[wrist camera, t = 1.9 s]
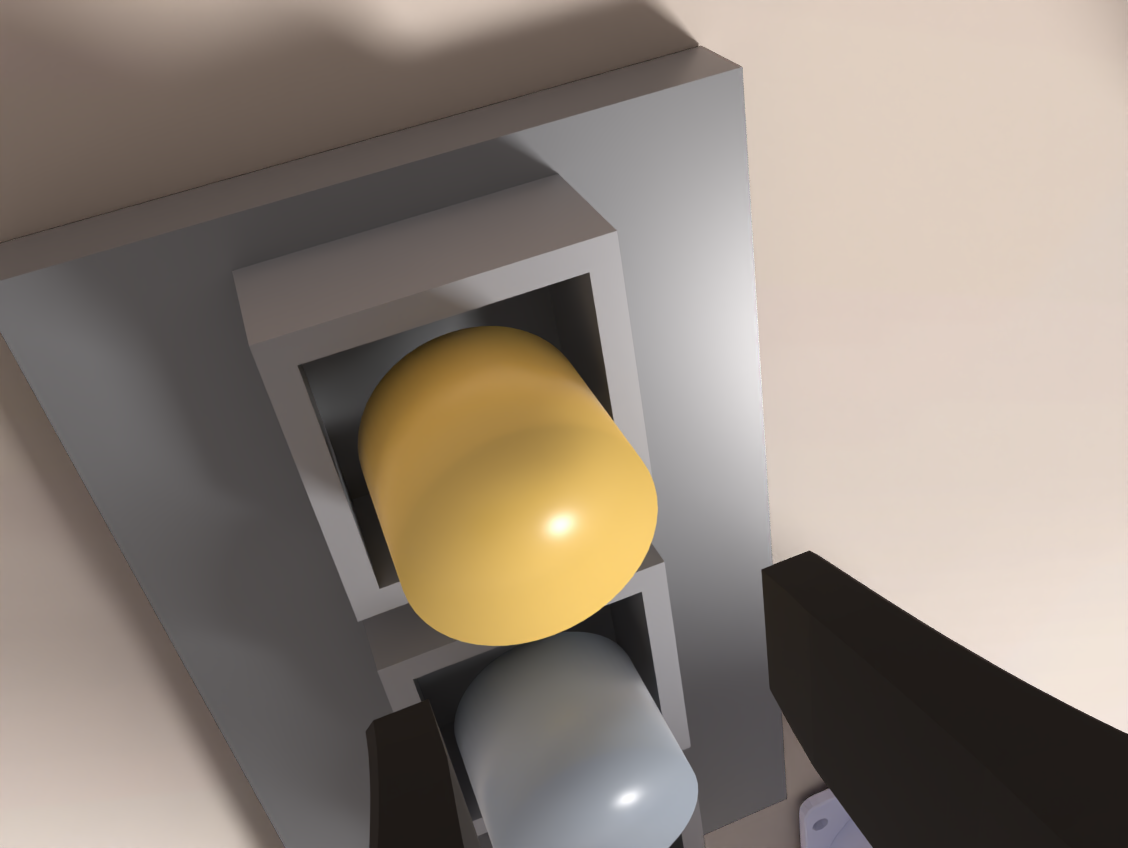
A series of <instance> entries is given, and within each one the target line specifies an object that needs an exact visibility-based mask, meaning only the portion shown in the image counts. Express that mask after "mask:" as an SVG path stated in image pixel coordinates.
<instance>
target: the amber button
mask: <svg viewBox="0 0 1128 848" xmlns="http://www.w3.org/2000/svg"><path fill="white" fill-rule="evenodd" d="M358 455H359V461H360V465H361V469H362V472H363V475H364V478H365V481H366V484H367V487H368V490H369V493H370V496H371V499H372V502H373V504H374V507H375V510H376V513H377V516H378V519H379V522H380V525H381V528H382V531H383V534H384V537H385V540H386V543H387V545H388V548H389V551H390V554H391V557H392V560H393V563H394V566H395V569H396V572H397V575H398V578H399V581H400V584H401V586H402V589H403V592H404V594H405V596H406V598H407V600H408V602H409V604H410V605H411V607H412V608H413V610H414V611H415V613H416V614H417V615H418V616H419V617H420V618H421V619H422V620H423V621H424V622H425V623H427V624H428V625H429V626H431V627H432V628H434V629H435V630H436V631H438V632H440V633H442V634H444V635H446V636H448V637H450V638H453V639H456V640H459V641H462V642H467V643H471V644H476V645H487V646H508V645H515V644H523V643H528V642H532V641H536V640H540V639H543V638H546V637H549V636H552V635H555V634H557V633H560V632H562V631H564V630H567V629H569V628H571V627H573V626H575V625H576V624H578V623H580V622H582V621H584V620H585V619H587V618H588V617H590V616H591V615H593V614H594V613H596V612H597V611H599V610H600V609H601V608H602V607H603V606H605V605H606V604H607V603H608V602H610V601H611V600H612V599H613V598H614V597H615V596H616V595H617V594H618V593H619V592H620V591H621V590H622V589H623V588H624V587H625V585H626V584H627V583H628V582H629V581H630V579H631V578H632V577H633V576H634V574H635V573H636V571H637V570H638V568H639V567H640V565H641V564H642V562H643V560H644V558H645V556H646V554H647V552H648V550H649V547H650V545H651V542H652V539H653V536H654V532H655V528H656V524H657V513H658V504H657V494H656V489H655V485H654V482H653V479H652V477H651V475H650V472H649V470H648V469H647V467H646V466H645V464H644V462H643V461H642V459H641V458H640V457H639V455H638V454H637V453H636V451H635V450H634V448H633V447H632V446H631V444H630V443H629V442H628V440H627V439H626V438H625V436H624V435H623V434H622V432H621V431H620V429H619V428H618V427H617V425H616V424H615V423H614V421H613V420H612V419H611V417H610V416H609V414H608V413H607V412H606V410H605V409H604V408H603V406H602V405H601V404H600V402H599V401H598V400H597V398H596V397H595V395H594V394H593V393H592V391H591V390H590V389H589V387H588V386H587V385H586V383H585V382H584V380H583V379H582V378H581V376H580V375H579V374H578V372H577V371H576V370H575V368H574V367H573V366H572V364H571V363H570V361H569V360H568V359H567V358H566V357H565V356H564V355H563V354H562V352H561V351H559V350H558V349H557V348H556V347H554V346H553V345H552V344H551V343H549V342H547V341H546V340H544V339H542V338H541V337H539V336H536V335H534V334H531V333H529V332H526V331H523V330H519V329H515V328H510V327H501V326H479V327H471V328H465V329H461V330H457V331H453V332H449V333H447V334H444V335H442V336H439V337H436V338H434V339H432V340H430V341H428V342H426V343H424V344H422V345H420V346H419V347H417V348H416V349H414V350H413V351H411V352H410V353H408V354H407V355H406V356H404V357H403V358H402V359H401V360H400V361H399V362H397V363H396V364H395V365H394V366H393V367H392V368H391V369H390V370H389V371H388V372H387V374H386V375H385V376H384V377H383V378H382V379H381V381H380V382H379V384H378V385H377V386H376V388H375V389H374V391H373V393H372V394H371V396H370V398H369V400H368V402H367V404H366V406H365V409H364V412H363V415H362V417H361V422H360V426H359V431H358Z"/></svg>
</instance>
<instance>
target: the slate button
mask: <svg viewBox="0 0 1128 848" xmlns="http://www.w3.org/2000/svg"><path fill="white" fill-rule="evenodd" d="M454 733H455V737H456V741H457V744H458V747H459V750H460V753H461V756H462V759H463V762H464V765H465V768H466V771H467V773H468V776H469V779H470V782H471V785H472V788H473V791H474V794H475V797H476V800H477V803H478V805H479V808H480V811H481V814H482V817H483V820H484V823H485V826H486V829H487V832H488V835H489V837H490V840H491V843H492V846H493V848H669V847H670V846H671V845H672V843H673V842H674V841H675V840H676V839H677V838H678V837H679V835H680V834H681V833H682V831H683V830H684V829H685V827H686V825H687V824H688V822H689V820H690V818H691V816H692V814H693V812H694V809H695V806H696V803H697V797H698V783H697V779H696V775H695V773H694V772H693V770H692V768H691V766H690V764H689V762H688V761H687V759H686V757H685V755H684V753H683V752H682V750H681V748H680V746H679V745H678V743H677V741H676V739H675V738H674V736H673V734H672V732H671V730H670V729H669V727H668V725H667V723H666V722H665V720H664V718H663V716H662V714H661V713H660V711H659V709H658V707H657V706H656V704H655V702H654V700H653V698H652V697H651V695H650V693H649V691H648V690H647V688H646V686H645V684H644V682H643V681H642V679H641V677H640V675H639V674H638V672H637V670H636V668H635V667H634V665H633V663H632V661H631V659H630V658H629V656H628V654H627V653H626V652H625V651H624V649H623V648H622V647H620V646H619V645H618V644H617V643H615V642H614V641H612V640H610V639H609V638H606V637H603V636H601V635H597V634H593V633H587V632H562V633H557V634H555V635H552V636H549V637H546V638H543V639H540V640H536V641H532V642H528V643H523V644H521V645H518V646H516V647H515V648H513V649H511V650H509V651H507V652H506V653H504V654H503V655H501V656H500V657H498V658H497V659H495V660H494V661H493V662H492V663H490V664H489V665H488V666H487V667H486V668H484V669H483V670H482V671H481V672H480V673H479V674H478V675H477V676H476V678H475V679H474V680H473V681H472V683H471V684H470V685H469V686H468V688H467V690H466V691H465V693H464V694H463V696H462V698H461V700H460V702H459V705H458V708H457V711H456V714H455V721H454Z"/></svg>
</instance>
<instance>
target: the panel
mask: <svg viewBox="0 0 1128 848" xmlns="http://www.w3.org/2000/svg"><path fill="white" fill-rule="evenodd" d="M479 326H501V327H510V328H515V329H519V330H523V331H526V332H529V333H531V334H534V335H536V336H539V337H541V338H542V339H544V340H546V341H547V342H549V343H551V344H552V345H553V346H554V347H556V348H557V349H558V350H559V351H561V352H562V354H563V355H564V356H565V357H566V358H567V359H568V360H569V361H570V363H571V364H572V366H573V367H574V368H575V370H576V371H577V372H578V374H579V375H580V376H581V378H582V379H583V380H584V382H585V383H586V385H587V386H588V387H589V389H590V390H591V391H592V393H593V394H594V395H595V397H596V398H597V400H598V401H599V402H600V404H601V405H602V406H603V408H604V409H605V410H606V412H607V413H608V414H609V416H610V417H611V419H612V420H613V421H614V423H615V424H616V425H617V427H618V428H619V429H620V431H621V432H622V434H623V435H624V436H625V438H626V439H627V440H628V442H629V443H630V444H631V446H632V447H633V448H634V450H635V451H636V453H637V454H638V455H639V457H640V458H641V459H642V461H643V462H644V464H645V466H646V467H647V469H648V470H649V472H650V475H651V477H652V479H653V482H654V485H655V489H656V494H657V504H658V513H657V524H656V528H655V532H654V536H653V539H652V542H651V545H650V547H649V550H648V552H647V554H646V556H645V558H644V560H643V562H642V564H641V565H640V567H639V568H638V570H637V571H636V573H635V574H634V576H633V577H632V578H631V579H630V581H629V582H628V583H627V584H626V585H625V587H624V588H623V589H622V590H621V591H620V592H619V593H618V594H617V595H616V596H615V597H614V598H613V599H612V600H611V601H610V602H608V603H607V604H606V605H605V606H603V607H602V608H601V609H600V610H599V611H597V612H596V613H594V614H593V615H591V616H590V617H588V618H587V619H585V620H584V621H582V622H580V623H578V624H576V625H575V626H573V627H571V628H569V629H567V630H564V631H562V632H587V633H593V634H597V635H601V636H603V637H606V638H609V639H610V640H612V641H614V642H615V643H617V644H618V645H619V646H620V647H622V648H623V649H624V651H625V652H626V653H627V654H628V656H629V658H630V659H631V661H632V663H633V665H634V667H635V668H636V670H637V672H638V674H639V675H640V677H641V679H642V681H643V682H644V684H645V686H646V688H647V690H648V691H649V693H650V695H651V697H652V698H653V700H654V702H655V704H656V706H657V707H658V709H659V711H660V713H661V714H662V716H663V718H664V720H665V722H666V723H667V725H668V727H669V729H670V730H671V732H672V734H673V736H674V738H675V739H676V741H677V743H678V745H679V746H680V748H681V750H682V752H683V753H684V755H685V757H686V759H687V761H688V762H689V764H690V766H691V768H692V770H693V772H694V773H695V775H696V779H697V783H698V797H697V803H696V806H695V809H694V812H693V814H692V816H691V818H690V820H689V822H688V824H687V825H686V827H685V829H684V830H683V831H682V833H681V834H680V835H679V837H678V838H677V839H676V840H675V841H674V842H673V843H672V845H671V846H670V847H669V848H705V842H704V835H705V834H707V833H710V832H712V831H714V830H716V829H719V828H721V827H723V826H726V825H728V824H730V823H733V822H735V821H737V820H739V819H742V818H744V817H746V816H749V815H751V814H753V813H755V812H758V811H760V810H762V809H765V808H767V807H769V806H771V805H774V804H776V803H778V802H781V801H783V800H785V799H787V793H786V776H785V760H784V743H783V727H782V711H781V709H780V707H779V705H778V703H777V701H776V700H775V698H774V696H773V694H772V692H771V691H770V688H769V674H768V659H767V645H766V631H765V616H764V602H763V588H762V573H761V569H763V568H766V567H769V566H771V565H773V563H772V546H771V530H770V513H769V497H768V480H767V464H766V447H765V431H764V414H763V398H762V382H761V365H760V349H759V332H758V316H757V299H756V283H755V266H754V250H753V234H752V217H751V201H750V184H749V168H748V151H747V135H746V118H745V102H744V86H743V69H742V66H740V65H738V64H736V63H734V62H732V61H730V60H728V59H726V58H724V57H722V56H720V55H718V54H716V53H715V52H713V51H711V50H709V49H707V48H705V47H703V46H699V47H695V48H692V49H688V50H685V51H681V52H678V53H674V54H670V55H667V56H663V57H660V58H656V59H653V60H649V61H646V62H642V63H639V64H635V65H631V66H628V67H624V68H621V69H617V70H614V71H610V72H607V73H603V74H599V75H596V76H592V77H589V78H585V79H582V80H578V81H575V82H571V83H568V84H564V85H560V86H557V87H553V88H550V89H546V90H543V91H539V92H536V93H532V94H528V95H525V96H521V97H518V98H514V99H511V100H507V101H504V102H500V103H497V104H493V105H489V106H486V107H482V108H479V109H475V110H472V111H468V112H465V113H461V114H457V115H454V116H450V117H447V118H443V119H440V120H436V121H433V122H429V123H426V124H422V125H418V126H415V127H411V128H408V129H404V130H401V131H397V132H394V133H390V134H387V135H383V136H379V137H376V138H372V139H369V140H365V141H362V142H358V143H355V144H351V145H347V146H344V147H340V148H337V149H333V150H330V151H326V152H323V153H319V154H316V155H312V156H308V157H305V158H301V159H298V160H294V161H291V162H287V163H284V164H280V165H276V166H273V167H269V168H266V169H262V170H259V171H255V172H252V173H248V174H245V175H241V176H237V177H234V178H230V179H227V180H223V181H220V182H216V183H213V184H209V185H205V186H202V187H198V188H195V189H191V190H188V191H184V192H181V193H177V194H174V195H170V196H166V197H163V198H159V199H156V200H152V201H149V202H145V203H142V204H138V205H135V206H131V207H127V208H124V209H120V210H117V211H113V212H110V213H106V214H103V215H99V216H95V217H92V218H88V219H85V220H81V221H78V222H74V223H71V224H67V225H64V226H60V227H56V228H53V229H49V230H46V231H42V232H39V233H35V234H32V235H28V236H24V237H21V238H17V239H14V240H10V241H7V242H3V243H0V333H1V334H2V336H3V338H4V340H5V342H6V343H7V345H8V347H9V349H10V351H11V352H12V354H13V356H14V358H15V360H16V361H17V363H18V365H19V367H20V369H21V371H22V372H23V374H24V376H25V378H26V380H27V381H28V383H29V385H30V387H31V389H32V390H33V392H34V394H35V396H36V398H37V400H38V401H39V403H40V405H41V407H42V409H43V410H44V412H45V414H46V416H47V418H48V419H49V421H50V423H51V425H52V427H53V428H54V430H55V432H56V434H57V436H58V438H59V439H60V441H61V443H62V445H63V447H64V448H65V450H66V452H67V454H68V456H69V457H70V459H71V461H72V463H73V465H74V466H75V468H76V470H77V472H78V474H79V476H80V477H81V479H82V481H83V483H84V485H85V486H86V488H87V490H88V492H89V494H90V495H91V497H92V499H93V501H94V503H95V505H96V506H97V508H98V510H99V512H100V514H101V515H102V517H103V519H104V521H105V523H106V524H107V526H108V528H109V530H110V532H111V533H112V535H113V537H114V539H115V541H116V543H117V544H118V546H119V548H120V550H121V552H122V553H123V555H124V557H125V559H126V561H127V562H128V564H129V566H130V568H131V570H132V572H133V573H134V575H135V577H136V579H137V581H138V582H139V584H140V586H141V588H142V590H143V591H144V593H145V595H146V597H147V599H148V600H149V602H150V604H151V606H152V608H153V610H154V611H155V613H156V615H157V617H158V619H159V620H160V622H161V624H162V626H163V628H164V629H165V631H166V633H167V635H168V637H169V638H170V640H171V642H172V644H173V646H174V648H175V649H176V651H177V653H178V655H179V657H180V658H181V660H182V662H183V664H184V666H185V667H186V669H187V671H188V673H189V675H190V677H191V678H192V680H193V682H194V684H195V686H196V687H197V689H198V691H199V693H200V695H201V696H202V698H203V700H204V702H205V704H206V705H207V707H208V709H209V711H210V713H211V715H212V716H213V718H214V720H215V722H216V724H217V725H218V727H219V729H220V731H221V733H222V734H223V736H224V738H225V740H226V742H227V743H228V745H229V747H230V749H231V751H232V753H233V754H234V756H235V758H236V760H237V762H238V763H239V765H240V767H241V769H242V771H243V772H244V774H245V776H246V778H247V780H248V782H249V783H250V785H251V787H252V789H253V791H254V792H255V794H256V796H257V798H258V800H259V801H260V803H261V805H262V807H263V809H264V810H265V812H266V814H267V816H268V818H269V820H270V821H271V823H272V825H273V827H274V829H275V830H276V832H277V834H278V836H279V838H280V839H281V841H282V843H283V845H284V847H285V848H369V838H370V773H369V756H368V747H367V739H366V730H367V729H368V727H369V726H370V724H371V723H372V721H373V720H375V719H378V718H381V717H383V716H386V715H388V714H391V713H393V712H396V711H398V710H401V709H404V708H406V707H409V706H411V705H414V704H416V703H419V702H422V701H424V700H427V699H429V702H430V704H431V707H432V710H433V713H434V716H435V718H436V721H437V724H438V727H439V729H440V732H441V735H442V738H443V740H444V743H445V746H446V749H447V752H448V754H449V757H450V760H451V763H452V765H453V768H454V771H455V774H456V777H457V779H458V782H459V785H460V788H461V790H462V793H463V796H464V799H465V802H466V804H467V807H468V810H469V813H470V816H471V819H472V821H473V824H474V827H475V830H476V833H477V836H478V839H479V842H480V845H481V848H493V846H492V843H491V840H490V837H489V835H488V832H487V829H486V826H485V823H484V820H483V817H482V814H481V811H480V808H479V805H478V803H477V800H476V797H475V794H474V791H473V788H472V785H471V782H470V779H469V776H468V773H467V771H466V768H465V765H464V762H463V759H462V756H461V753H460V750H459V747H458V744H457V741H456V737H455V733H454V721H455V714H456V711H457V708H458V705H459V702H460V700H461V698H462V696H463V694H464V693H465V691H466V690H467V688H468V686H469V685H470V684H471V683H472V681H473V680H474V679H475V678H476V676H477V675H478V674H479V673H480V672H481V671H482V670H483V669H484V668H486V667H487V666H488V665H489V664H490V663H492V662H493V661H494V660H495V659H497V658H498V657H500V656H501V655H503V654H504V653H506V652H507V651H509V650H511V649H513V648H515V647H516V646H518V645H521V644H515V645H508V646H487V645H476V644H471V643H467V642H462V641H459V640H456V639H453V638H450V637H448V636H446V635H444V634H442V633H440V632H438V631H436V630H435V629H434V628H432V627H431V626H429V625H428V624H427V623H425V622H424V621H423V620H422V619H421V618H420V617H419V616H418V615H417V614H416V613H415V611H414V610H413V608H412V607H411V605H410V604H409V602H408V600H407V598H406V596H405V594H404V592H403V589H402V586H401V584H400V581H399V578H398V575H397V572H396V569H395V566H394V563H393V560H392V557H391V554H390V551H389V548H388V545H387V543H386V540H385V537H384V534H383V531H382V528H381V525H380V522H379V519H378V516H377V513H376V510H375V507H374V504H373V502H372V499H371V496H370V493H369V490H368V487H367V484H366V481H365V478H364V475H363V472H362V469H361V465H360V461H359V455H358V431H359V426H360V422H361V417H362V415H363V412H364V409H365V406H366V404H367V402H368V400H369V398H370V396H371V394H372V393H373V391H374V389H375V388H376V386H377V385H378V384H379V382H380V381H381V379H382V378H383V377H384V376H385V375H386V374H387V372H388V371H389V370H390V369H391V368H392V367H393V366H394V365H395V364H396V363H397V362H399V361H400V360H401V359H402V358H403V357H404V356H406V355H407V354H408V353H410V352H411V351H413V350H414V349H416V348H417V347H419V346H420V345H422V344H424V343H426V342H428V341H430V340H432V339H434V338H436V337H439V336H442V335H444V334H447V333H449V332H453V331H457V330H461V329H465V328H471V327H479ZM562 632H560V633H562Z"/></svg>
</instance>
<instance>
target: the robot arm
mask: <svg viewBox="0 0 1128 848" xmlns="http://www.w3.org/2000/svg"><path fill="white" fill-rule="evenodd" d="M761 573H762V588H763V602H764V616H765V631H766V645H767V659H768V674H769V688H770V691H771V692H772V694H773V696H774V698H775V700H776V701H777V703H778V705H779V707H780V709H781V710H782V712H783V714H784V716H785V718H786V719H787V721H788V723H789V725H790V727H791V728H792V730H793V732H794V734H795V735H796V737H797V739H798V741H799V742H800V744H801V746H802V747H803V749H804V751H805V753H806V754H807V756H808V758H809V759H810V761H811V763H812V765H813V766H814V768H815V769H816V771H817V772H818V773H819V775H820V776H821V778H822V779H823V780H824V782H825V783H826V785H827V786H828V787H829V788H828V789H826V790H824V791H821V792H819V793H817V794H815V795H812V796H811V797H809V798H807V799H806V800H805V801H804V802H803V803H802V805H801V807H800V810H799V819H800V839H801V848H1128V734H1127V733H1124V732H1122V731H1120V730H1118V729H1116V728H1114V727H1112V726H1110V725H1108V724H1106V723H1104V722H1102V721H1100V720H1098V719H1096V718H1094V717H1092V716H1090V715H1088V714H1086V713H1084V712H1082V711H1080V710H1078V709H1076V708H1074V707H1072V706H1070V705H1068V704H1066V703H1064V702H1062V701H1060V700H1058V699H1057V698H1055V697H1053V696H1051V695H1049V694H1047V693H1045V692H1043V691H1041V690H1039V689H1038V688H1036V687H1034V686H1032V685H1030V684H1028V683H1026V682H1025V681H1023V680H1021V679H1019V678H1017V677H1016V676H1014V675H1012V674H1010V673H1008V672H1006V671H1005V670H1003V669H1001V668H999V667H998V666H996V665H994V664H992V663H991V662H989V661H987V660H986V659H984V658H982V657H980V656H979V655H977V654H975V653H974V652H972V651H970V650H968V649H967V648H965V647H963V646H962V645H960V644H958V643H956V642H955V641H953V640H951V639H950V638H948V637H946V636H944V635H943V634H941V633H940V632H938V631H936V630H935V629H933V628H931V627H930V626H928V625H926V624H925V623H923V622H922V621H920V620H918V619H917V618H915V617H914V616H912V615H910V614H909V613H907V612H906V611H904V610H902V609H901V608H899V607H898V606H896V605H894V604H893V603H891V602H890V601H888V600H887V599H885V598H883V597H882V596H880V595H879V594H877V593H876V592H874V591H873V590H871V589H869V588H868V587H866V586H865V585H863V584H862V583H860V582H859V581H857V580H856V579H854V578H853V577H851V576H849V575H848V574H846V573H845V572H843V571H842V570H840V569H839V568H837V567H836V566H834V565H833V564H831V563H830V562H828V561H826V560H825V559H823V558H822V557H820V556H819V555H817V554H815V553H813V552H811V551H807V552H805V553H802V554H799V555H797V556H794V557H792V558H789V559H787V560H784V561H781V562H779V563H776V564H774V565H771V566H769V567H766V568H763V569H761ZM366 739H367V747H368V756H369V773H370V838H369V848H481V845H480V842H479V839H478V836H477V833H476V830H475V827H474V824H473V821H472V819H471V816H470V813H469V810H468V807H467V804H466V802H465V799H464V796H463V793H462V790H461V788H460V785H459V782H458V779H457V777H456V774H455V771H454V768H453V765H452V763H451V760H450V757H449V754H448V752H447V749H446V746H445V743H444V740H443V738H442V735H441V732H440V729H439V727H438V724H437V721H436V718H435V716H434V713H433V710H432V707H431V704H430V702H429V699H427V700H424V701H422V702H419V703H416V704H414V705H411V706H409V707H406V708H404V709H401V710H398V711H396V712H393V713H391V714H388V715H386V716H383V717H381V718H378V719H375V720H373V721H372V723H371V724H370V726H369V727H368V729H367V730H366Z"/></svg>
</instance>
